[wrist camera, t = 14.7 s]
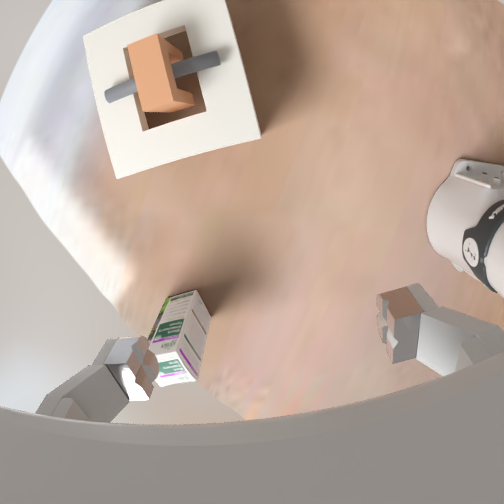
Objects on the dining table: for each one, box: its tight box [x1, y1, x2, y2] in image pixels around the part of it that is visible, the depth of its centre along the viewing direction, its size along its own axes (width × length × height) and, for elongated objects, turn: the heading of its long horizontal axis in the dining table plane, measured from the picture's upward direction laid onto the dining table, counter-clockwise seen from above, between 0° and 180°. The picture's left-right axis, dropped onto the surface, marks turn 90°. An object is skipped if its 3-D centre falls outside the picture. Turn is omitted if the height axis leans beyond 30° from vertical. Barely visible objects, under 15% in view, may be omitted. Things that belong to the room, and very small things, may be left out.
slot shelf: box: [83, 0, 261, 179], centre depth 31 cm, size 16×18×12 cm
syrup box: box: [147, 290, 211, 387], centre depth 43 cm, size 6×6×14 cm
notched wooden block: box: [127, 33, 195, 113], centre depth 28 cm, size 3×7×10 cm, turn 13°
